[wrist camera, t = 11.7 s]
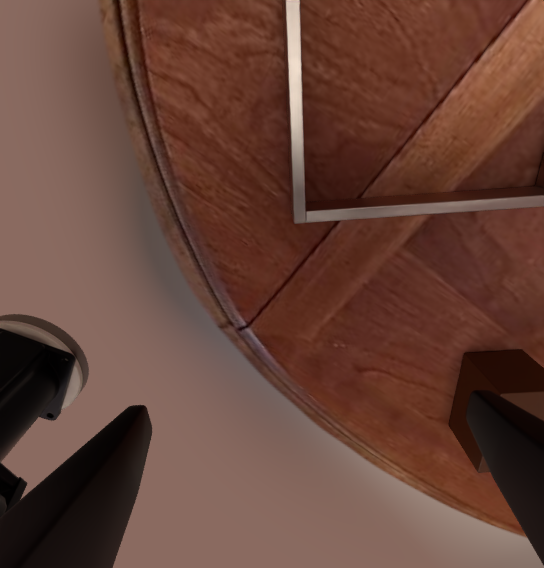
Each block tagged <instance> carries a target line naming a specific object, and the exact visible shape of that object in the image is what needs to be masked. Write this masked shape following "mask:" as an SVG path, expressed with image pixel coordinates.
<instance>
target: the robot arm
mask: <svg viewBox="0 0 544 568" xmlns="http://www.w3.org/2000/svg"><path fill="white" fill-rule="evenodd" d="M66 359H67V360H68V361H67V360H66ZM75 362H76V358H75V356H74V355H73V354H72V353H69V352H67V351H64V350H61V349H58V348H55V347H53V346H50V345H47V344H44V343H41V342H38V341H36V340H33V339H30V338H27V337H24V336H22V335H19V334H16V333H13V332H10V331H8V330H5V329H2V328H0V568H113V564H114V561H115V559H116V556H117V553H118V550H119V547H120V544H121V541H122V538H123V535H124V532H125V529H126V527H127V524H128V521H129V518H130V515H131V512H132V509H133V506H134V503H135V500H136V497H137V494H138V490H139V486H140V482H141V478H142V474H143V470H144V465H145V461H146V457H147V453H148V449H149V444H150V440H151V436H152V425H151V421H150V418H149V414H148V411H147V408H146V406H144V405H135V406H134V405H133V406H130V407H128V408H127V409H125V410H124V411H123V412H122V413H121V414H120V415H118V416H117V417H116V418H115V419H114V420H113V421H111V422H110V423H109V424H108V425H107V426H106V427H105V428H103V429H102V430H101V431H100V432H99V433H98V434H96V435H95V436H94V437H93V438H92V439H91V440H90V441H88V442H87V443H86V444H85V445H84V446H82V447H81V448H80V449H79V450H78V451H77V452H75V453H74V454H73V455H72V456H71V457H70V458H69V459H67V460H66V461H65V462H64V463H63V464H62V465H60V466H59V467H58V468H57V469H56V470H55V471H53V472H52V473H51V474H50V475H49V476H48V477H46V478H45V479H44V480H43V481H42V482H41V483H40V484H38V485H37V486H36V487H35V488H34V489H33V490H31V491H30V492H29V493H28V494H27V495H26V496H25V497H23V498H22V499H21V497H22V494H23V492H24V490H25V488H26V486H27V482H26V481H24V480H23V479H22V478H21V477H19V478H18V477H17V476H15V475H14V474H13V473H12V472H11V471H10V470H8V469H7V468H6V467H5V466H4V465H3V464H1V461H2V460H3V459H4V458H5V456H6V455H7V454H8V453H9V452H10V451H11V449H12V448H13V447H14V446H15V445H16V443H17V442H18V441H19V440H20V438H21V437H22V436H23V435H24V434H25V433H26V431H27V430H28V429H29V428H30V427H31V425H32V424H33V423H34V422H35V421H36V419H37V418H38V417H41V418H44V419H48V420H56V419H57V417H58V416H59V414H60V413H61V409H62V406H63V402H64V399H65V396H66V392H67V389H68V385H69V382H70V379H71V375H72V372H73V368H74V365H75ZM465 416H466V420H467V423H468V425H469V427H470V429H471V431H472V433H473V436H474V438H475V440H476V442H477V444H478V447H479V449H480V451H481V453H482V455H483V457H484V460H485V462H486V464H487V466H488V468H489V470H490V472H491V474H492V476H493V478H494V480H495V482H496V484H497V485H498V487H499V489H500V491H501V492H502V494H503V496H504V498H505V499H506V501H507V503H508V505H509V506H510V508H511V510H512V511H513V513H514V515H515V517H516V518H517V520H518V522H519V524H520V525H521V527H522V529H523V530H524V532H525V534H526V536H527V537H528V539H529V541H530V543H531V544H532V546H533V548H534V549H535V551H536V553H537V555H538V556H539V558H540V560H541V561H542V563H543V565H544V421H543V420H541V419H540V418H538V417H536V416H534V415H533V414H531V413H529V412H527V411H526V410H524V409H522V408H520V407H519V406H517V405H515V404H513V403H512V402H510V401H508V400H506V399H505V398H503V397H501V396H499V395H498V394H496V393H494V392H492V391H490V390H487V389H482V390H473V391H472V392H471V393H470V396H469V400H468V404H467V408H466V412H465ZM20 499H21V500H20Z"/></svg>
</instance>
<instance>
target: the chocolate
mask: <svg viewBox="0 0 544 568" xmlns="http://www.w3.org/2000/svg"><path fill="white" fill-rule="evenodd" d="M482 389H487V390H490V391H492V392H494V393H496V394H498V395H499V396H501V397H503V398H505V399H506V400H508V401H510V402H512V403H513V404H515V405H517V406H519V407H520V408H522V409H524V410H526V411H527V412H529V413H531V414H533V415H534V416H536V417H538V418H540V419H541V420H543V421H544V368H543V367H542V366H541V365H539V364H538V363H537V362H536V361H535V360H533V359H532V358H531V357H530V356H529V355H528V354H526V353H525V352H524V351H523V350H508V351H491V352H473V353H464V357H463V362H462V366H461V371H460V375H459V380H458V385H457V389H456V394H455V398H454V403H453V407H452V412H451V417H450V421H449V427H450V428H451V430H452V431H453V433H454V435H455V436H456V438H457V440H458V441H459V443H460V444H461V446H462V448H463V449H464V451H465V452H466V454H467V456H468V457H469V459H470V461H471V462H472V464H473V465H474V467H475V469H476V470H477V472H478V473H483V472H490V470H489V468H488V466H487V464H486V462H485V460H484V457H483V455H482V453H481V451H480V449H479V447H478V444H477V442H476V440H475V438H474V436H473V433H472V431H471V429H470V427H469V425H468V423H467V420H466V416H465V412H466V408H467V404H468V400H469V396H470V393H471V392H472V391H473V390H482Z"/></svg>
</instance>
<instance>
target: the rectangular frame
mask: <svg viewBox="0 0 544 568" xmlns="http://www.w3.org/2000/svg"><path fill="white" fill-rule="evenodd" d="M282 11H283V34H284V57H285V80H286V104H287V127H288V150H289V173H290V196H291V214H292V217H293V221H294V223H295V224H296V223H306V222H307V223H309V222H324V221H339V220H354V219H369V218H383V217H398V216H413V215H428V214H443V213H457V212H472V211H487V210H502V209H516V208H531V207H544V154H543V158H542V162H541V166H540V170H539V174H538V177H537V181H536V185H535V186H530V187H515V188H501V189H486V190H472V191H458V192H443V193H429V194H414V195H400V196H385V197H371V198H356V199H342V200H328V201H313V202H305V169H304V129H303V88H302V48H301V7H300V0H282Z"/></svg>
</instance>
